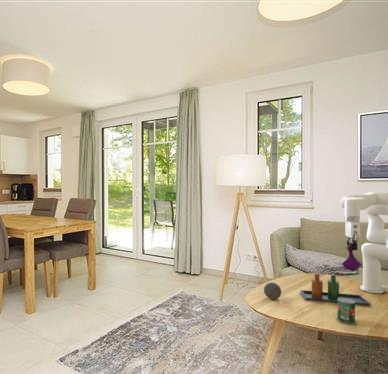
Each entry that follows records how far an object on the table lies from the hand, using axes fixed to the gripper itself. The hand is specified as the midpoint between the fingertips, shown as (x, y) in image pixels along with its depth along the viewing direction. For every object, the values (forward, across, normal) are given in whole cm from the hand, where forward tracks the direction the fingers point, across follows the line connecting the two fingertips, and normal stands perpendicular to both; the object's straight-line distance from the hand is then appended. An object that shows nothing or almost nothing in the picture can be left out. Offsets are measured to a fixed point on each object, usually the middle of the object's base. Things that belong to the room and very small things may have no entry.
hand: (351, 248), depth 182 cm
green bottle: (+32, +2, +9) cm, 34 cm away
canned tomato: (+33, -28, +13) cm, 45 cm away
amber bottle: (+32, +2, +18) cm, 37 cm away
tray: (+33, +2, +9) cm, 34 cm away
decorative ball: (+33, -6, +46) cm, 56 cm away
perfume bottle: (+13, 0, 0) cm, 13 cm away
